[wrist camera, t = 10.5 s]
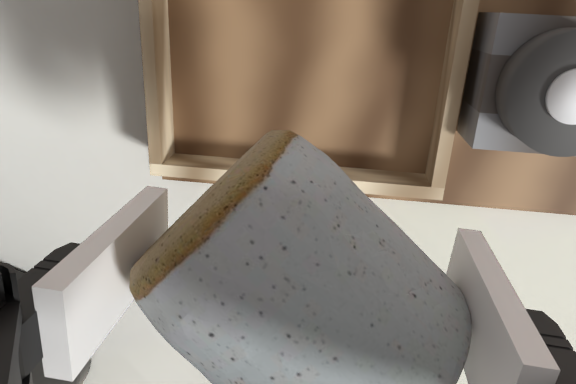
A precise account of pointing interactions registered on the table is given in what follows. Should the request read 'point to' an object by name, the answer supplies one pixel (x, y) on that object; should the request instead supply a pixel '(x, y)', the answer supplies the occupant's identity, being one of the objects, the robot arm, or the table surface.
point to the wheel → (541, 93)
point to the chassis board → (352, 93)
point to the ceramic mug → (300, 281)
